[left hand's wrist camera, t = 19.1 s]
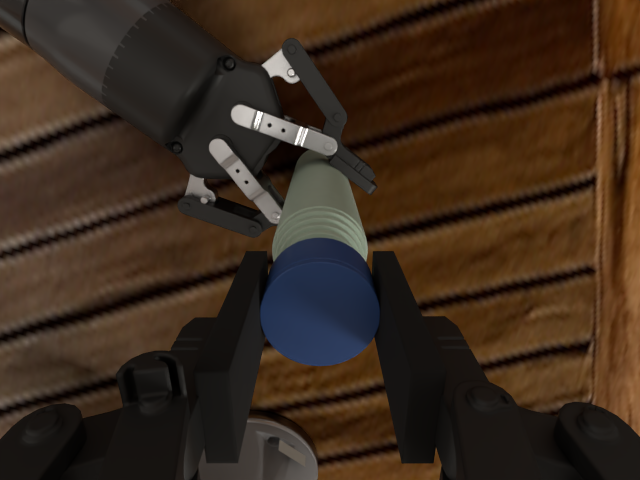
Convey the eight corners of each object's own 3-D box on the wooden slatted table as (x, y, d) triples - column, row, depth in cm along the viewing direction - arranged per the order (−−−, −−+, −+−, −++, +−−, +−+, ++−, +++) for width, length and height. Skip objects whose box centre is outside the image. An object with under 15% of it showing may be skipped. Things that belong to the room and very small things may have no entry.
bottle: (353, 183, 34) (403, 330, 14) (309, 205, 35) (294, 375, 14) (331, 138, 33) (350, 226, 12) (285, 161, 34) (232, 282, 13)
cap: (302, 344, 16) (299, 382, 14) (247, 268, 15) (235, 297, 13) (389, 302, 15) (400, 335, 13) (340, 217, 14) (344, 240, 12)
